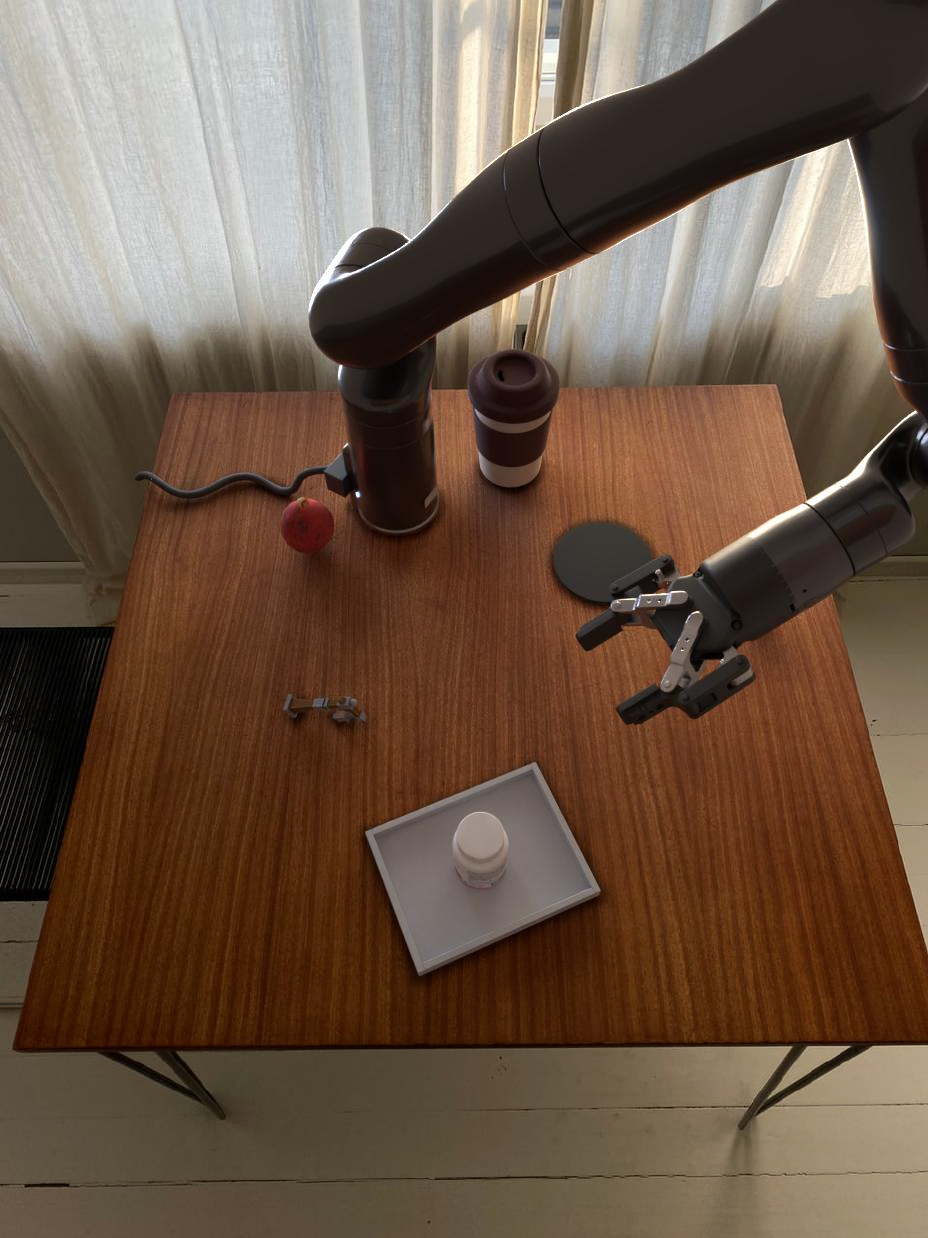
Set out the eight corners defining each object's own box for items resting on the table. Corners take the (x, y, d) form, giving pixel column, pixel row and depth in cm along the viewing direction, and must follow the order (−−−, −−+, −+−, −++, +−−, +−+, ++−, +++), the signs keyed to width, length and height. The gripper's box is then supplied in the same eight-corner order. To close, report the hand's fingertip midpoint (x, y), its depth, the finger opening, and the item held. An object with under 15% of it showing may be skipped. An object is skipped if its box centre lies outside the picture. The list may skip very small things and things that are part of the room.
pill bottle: (452, 841, 80) (449, 809, 73) (503, 836, 80) (506, 804, 73) (456, 893, 77) (454, 865, 70) (509, 888, 78) (512, 860, 70)
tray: (419, 976, 74) (418, 973, 73) (366, 837, 81) (364, 831, 79) (598, 895, 77) (601, 890, 76) (534, 767, 84) (535, 761, 83)
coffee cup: (563, 450, 106) (575, 352, 93) (532, 508, 101) (540, 413, 88) (489, 426, 108) (490, 327, 96) (455, 482, 103) (452, 385, 91)
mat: (535, 576, 96) (535, 574, 96) (581, 509, 101) (582, 507, 101) (625, 620, 93) (625, 618, 92) (668, 549, 98) (669, 547, 97)
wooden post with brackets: (372, 728, 85) (349, 706, 82) (306, 729, 89) (281, 708, 86) (377, 712, 86) (354, 689, 83) (311, 714, 90) (287, 692, 87)
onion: (330, 570, 97) (318, 526, 90) (280, 562, 97) (265, 517, 91) (344, 530, 100) (334, 483, 93) (296, 522, 100) (282, 476, 94)
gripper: (718, 492, 71) (549, 598, 74) (817, 603, 61) (618, 722, 64) (741, 546, 76) (583, 644, 79) (836, 658, 66) (652, 765, 69)
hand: (599, 679), depth 71 cm, fingers open, 8 cm apart
